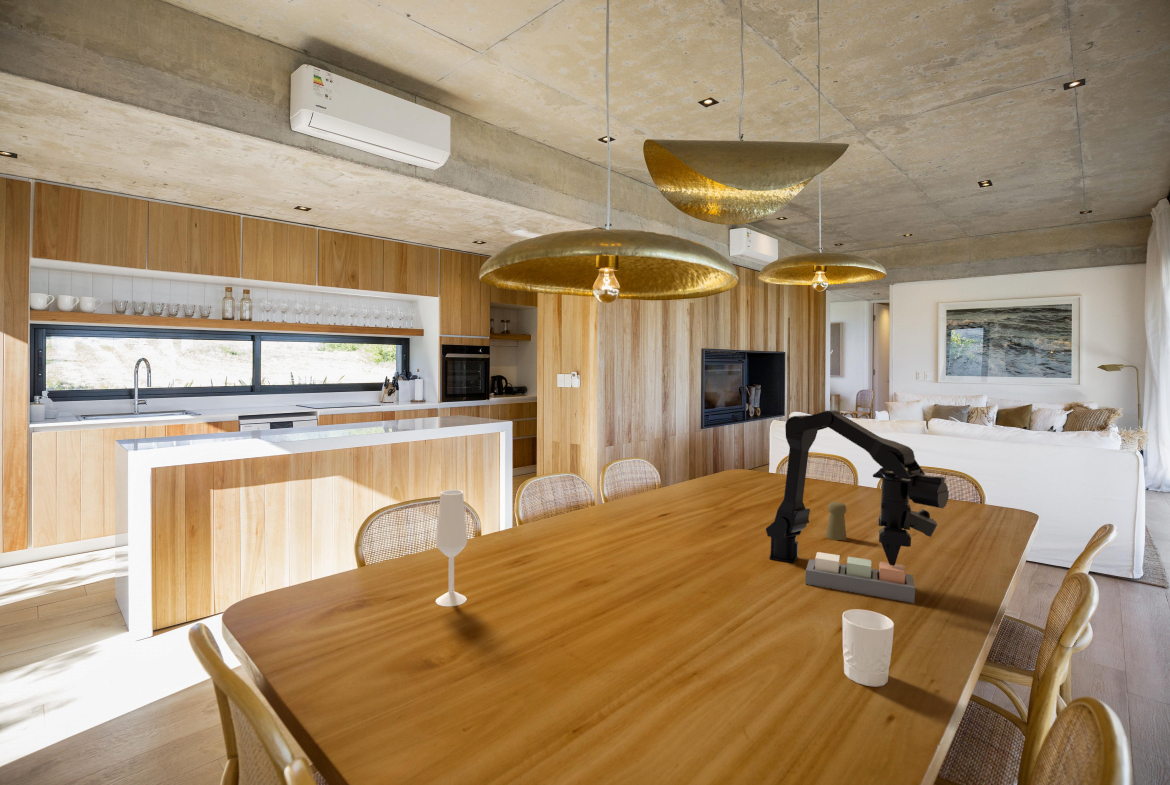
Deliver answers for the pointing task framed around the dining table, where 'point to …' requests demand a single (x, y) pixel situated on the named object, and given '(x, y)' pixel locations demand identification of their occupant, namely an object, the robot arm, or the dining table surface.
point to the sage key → (859, 567)
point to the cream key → (827, 562)
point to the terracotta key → (892, 572)
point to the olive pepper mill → (836, 521)
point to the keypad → (861, 583)
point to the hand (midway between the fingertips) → (892, 565)
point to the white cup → (867, 646)
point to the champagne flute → (451, 538)
